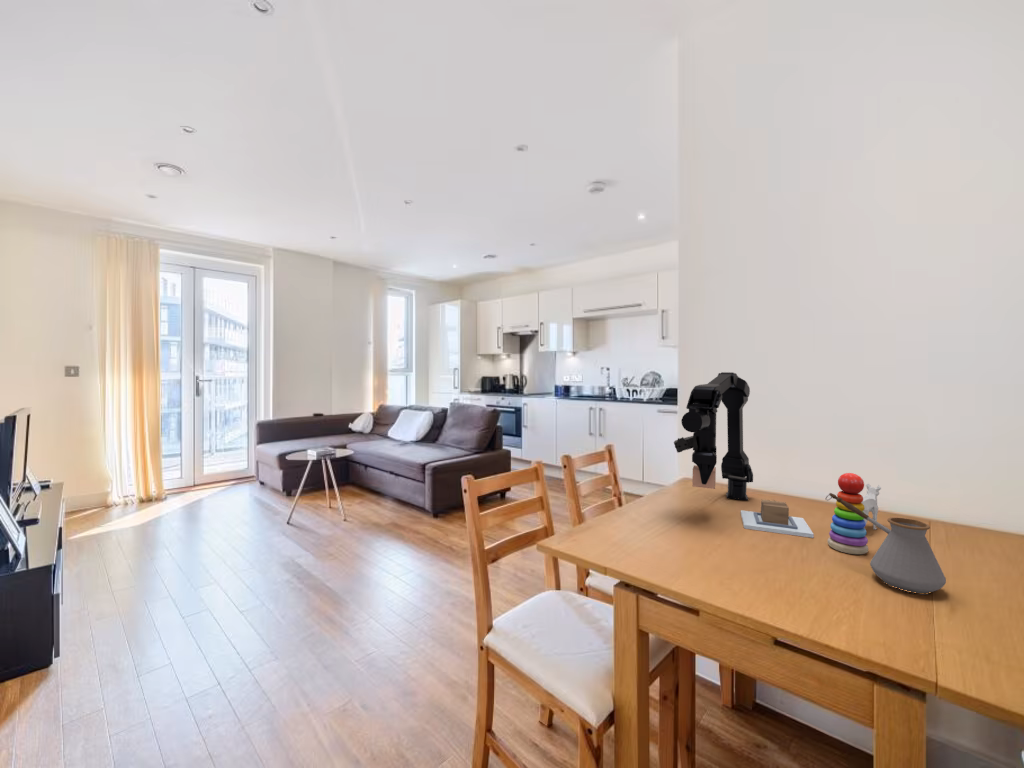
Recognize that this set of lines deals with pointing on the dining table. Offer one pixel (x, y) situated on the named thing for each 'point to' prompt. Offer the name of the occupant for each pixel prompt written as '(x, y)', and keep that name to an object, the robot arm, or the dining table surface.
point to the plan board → (776, 525)
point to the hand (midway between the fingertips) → (704, 481)
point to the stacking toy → (849, 518)
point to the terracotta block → (697, 479)
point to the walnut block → (774, 512)
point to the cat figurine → (871, 502)
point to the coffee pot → (904, 554)
